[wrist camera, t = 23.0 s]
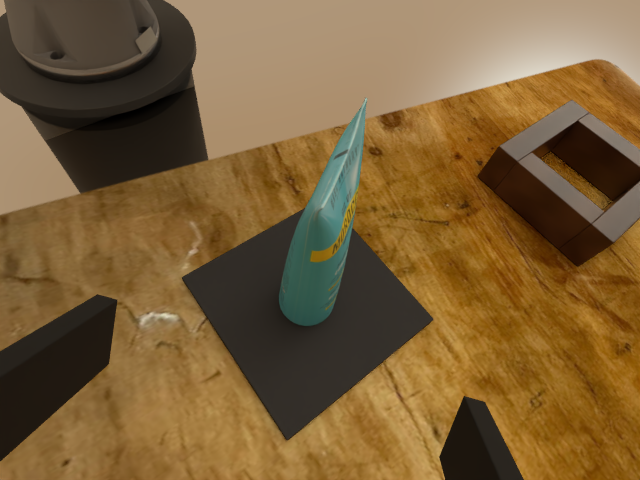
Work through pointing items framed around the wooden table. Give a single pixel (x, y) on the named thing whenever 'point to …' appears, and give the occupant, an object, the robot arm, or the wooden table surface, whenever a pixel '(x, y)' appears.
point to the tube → (324, 233)
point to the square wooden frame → (559, 195)
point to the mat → (303, 341)
